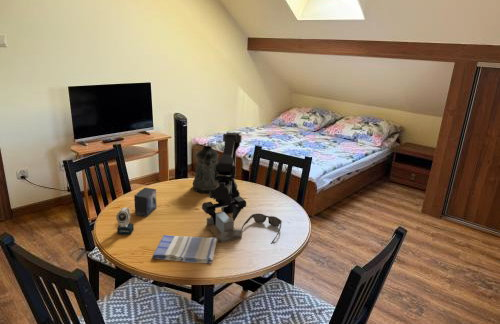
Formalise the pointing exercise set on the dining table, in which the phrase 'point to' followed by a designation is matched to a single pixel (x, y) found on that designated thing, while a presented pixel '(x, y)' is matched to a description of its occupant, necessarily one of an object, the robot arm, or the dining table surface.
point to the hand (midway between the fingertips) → (223, 222)
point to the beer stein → (205, 171)
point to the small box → (145, 202)
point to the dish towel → (186, 249)
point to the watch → (124, 222)
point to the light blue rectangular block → (223, 222)
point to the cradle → (224, 235)
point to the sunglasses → (261, 219)
